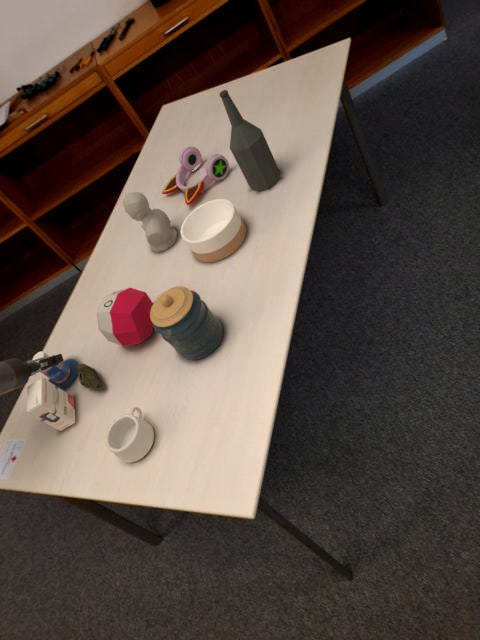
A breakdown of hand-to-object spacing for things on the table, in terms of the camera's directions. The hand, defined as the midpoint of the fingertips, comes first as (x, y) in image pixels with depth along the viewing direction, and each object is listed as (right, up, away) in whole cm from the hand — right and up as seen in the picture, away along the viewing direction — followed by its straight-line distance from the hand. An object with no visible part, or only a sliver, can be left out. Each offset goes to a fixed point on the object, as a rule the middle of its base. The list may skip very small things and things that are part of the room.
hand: (50, 360), depth 122 cm
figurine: (+28, +37, +21) cm, 51 cm away
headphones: (+37, +59, +33) cm, 77 cm away
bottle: (+60, +55, +17) cm, 83 cm away
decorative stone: (+14, -5, -3) cm, 15 cm away
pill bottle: (+2, -4, +3) cm, 6 cm away
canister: (+43, +6, -11) cm, 44 cm away
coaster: (+2, -5, +3) cm, 6 cm away
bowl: (+46, +35, +9) cm, 59 cm away
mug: (+29, -16, -21) cm, 39 cm away
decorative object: (+25, +8, 0) cm, 26 cm away
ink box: (+7, -14, -6) cm, 16 cm away
